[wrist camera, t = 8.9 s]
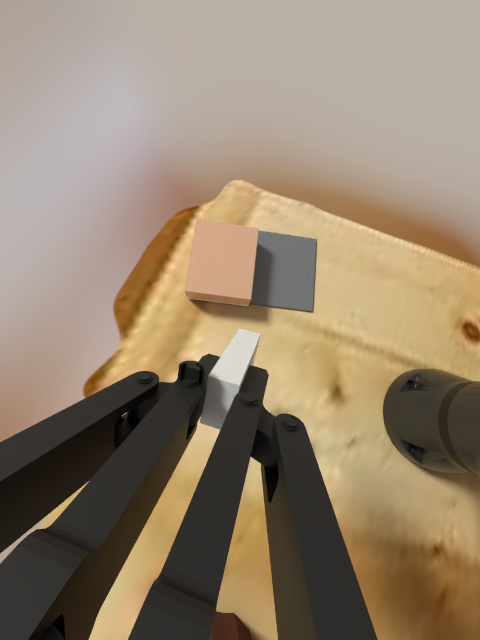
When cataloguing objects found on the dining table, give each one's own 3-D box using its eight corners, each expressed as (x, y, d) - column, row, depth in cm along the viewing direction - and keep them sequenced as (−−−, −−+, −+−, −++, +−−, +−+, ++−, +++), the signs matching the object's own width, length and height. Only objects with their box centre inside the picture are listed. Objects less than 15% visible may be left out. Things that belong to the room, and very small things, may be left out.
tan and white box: (250, 299, 39) (258, 228, 41) (184, 290, 38) (196, 219, 41) (247, 306, 42) (255, 240, 45) (187, 298, 42) (198, 232, 44)
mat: (311, 311, 44) (312, 311, 43) (194, 296, 42) (194, 295, 42) (315, 240, 46) (316, 239, 46) (205, 223, 45) (205, 222, 45)
